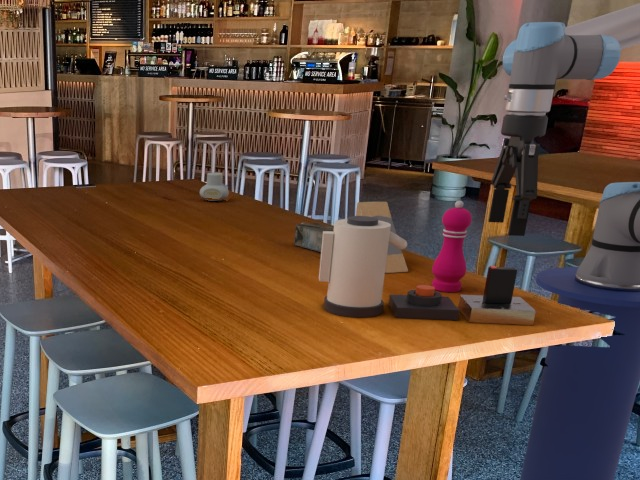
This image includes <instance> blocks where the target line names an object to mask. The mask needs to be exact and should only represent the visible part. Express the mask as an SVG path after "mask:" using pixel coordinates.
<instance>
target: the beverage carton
mask: <svg viewBox="0 0 640 480" xmlns="http://www.w3.org/2000/svg"><path fill="white" fill-rule="evenodd" d="M323 231H334V226H331V225H326V224H321V223H318V222H311V223H307V222H301V223H299V224H298V223H297V224H296V225H295V232H294V239H293V240H294V241H293V244H294V246H298V247H301V248H304V249H307V250H311V251H315V252H318V253H321V248H322V237H323Z"/></svg>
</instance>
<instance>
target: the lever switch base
mask: <svg viewBox="0 0 640 480" xmlns="http://www.w3.org/2000/svg"><path fill="white" fill-rule="evenodd" d="M457 308H458V309H459V313H461V314H462V315H463V316H464V318H465V319H466V320H467V321H468V323H471V324H472V323H473V324H474V323H475V324H498V325H517V326H518V325H520V326H521V325H522V326H534V322H535V317H536V311H537V310H536V309H535V308H534V307H533V306H531V304H529V303H528V302H527V301H525V300H524V299H523V298H522V297H521V296H512V301H511V304H502V303H485V302H484V301H483V294H482V295H481V294H480V295H479V294H478V295H477V294H459V299H458V304H457Z"/></svg>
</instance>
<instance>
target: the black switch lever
mask: <svg viewBox="0 0 640 480" xmlns="http://www.w3.org/2000/svg"><path fill="white" fill-rule="evenodd" d="M517 274H518V269H517V268H516V267H507V266H506V267H505V266H496V265H489V266H488V267H487V272H486V278H485V279H486V280H485V284H484V291H483V294H482V296H483V301H484V302H485V303H502V304H511V301H512V297H514V290H515V285H516V280H517Z"/></svg>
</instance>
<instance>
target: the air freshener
mask: <svg viewBox="0 0 640 480" xmlns="http://www.w3.org/2000/svg"><path fill="white" fill-rule="evenodd" d="M223 180H224V174H223V173H222V172H208V173H207V174H206V184H205V185H203V186H202V187H201V188H200V189H199V196H200V198H202V197H203V198H212V199H222V200H208V199H204V201H207V200H208V201H207V202H209V201H218V202H222V201H224V200H225V199H227V198H228V197H229V196H230V195H229V194H230V191H229V189H228V187H227V186H226V185H224V184H223V182H224V181H223ZM203 198H202V199H203ZM223 198H225V199H223Z"/></svg>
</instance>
